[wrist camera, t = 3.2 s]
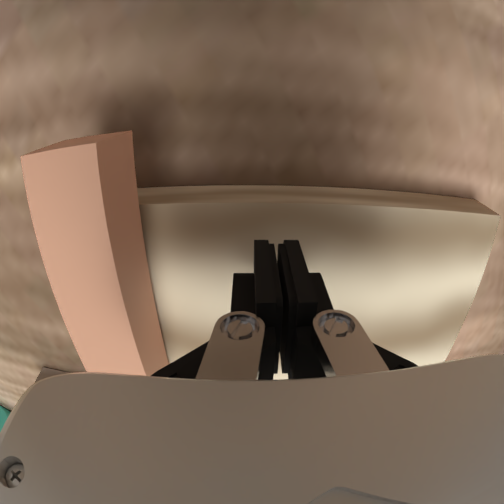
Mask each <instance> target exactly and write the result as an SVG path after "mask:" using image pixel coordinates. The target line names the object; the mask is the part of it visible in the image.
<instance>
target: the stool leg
mask: <svg viewBox="0 0 504 504" xmlns="http://www.w3.org/2000/svg"><path fill="white" fill-rule="evenodd" d="M20 157H21V164H22V171H23V177H24V183H25V188H26V194H27V199H28V204H29V208H30V213H31V217H32V222H33V226H34V230H35V234H36V238H37V241H38V245H39V249H40V252H41V256H42V259H43V262H44V266H45V269H46V272H47V275H48V278H49V281H50V284H51V287H52V290H53V293H54V296H55V299H56V301H57V304H58V307H59V309H60V312H61V314H62V317H63V320H64V322H65V325H66V327H67V329H68V332H69V334H70V336H71V339H72V341H73V343H74V346H75V348H76V350H77V352H78V354H79V357H80V359H81V361H82V363H83V365H84V367H85V369H86V371H87V372H107V373H117V374H129V375H144V376H151V375H152V374H154V373H155V372H156V371H158V370H160V369H161V368H163V367H165V366H167V365H168V364H169V363H168V359H167V355H166V351H165V347H164V342H163V338H162V334H161V329H160V325H159V320H158V315H157V311H156V306H155V301H154V296H153V291H152V285H151V280H150V274H149V269H148V263H147V257H146V251H145V244H144V238H143V231H142V224H141V216H140V209H139V200H138V192H137V182H136V172H135V162H134V149H133V135H132V131H123V132H115V133H107V134H100V135H93V136H87V137H81V138H75V139H69V140H64V141H61V142H58V143H55V144H52V145H50V146H47V147H44V148H41V149H38V150H36V151H33V152H30V153H28V154H25V155H23V156H20Z"/></svg>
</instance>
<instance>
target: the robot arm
mask: <svg viewBox="0 0 504 504" xmlns="http://www.w3.org/2000/svg"><path fill="white" fill-rule="evenodd" d="M279 353H280V359H281V369H282V374H284V373H288V379H280V380H273V376H274V374H277V373H278V364H279ZM0 504H504V354H488V355H478V356H473V357H468V358H462V359H456V360H450V361H446V362H440V363H435V364H429V365H423V366H418V365H416V364H414V363H413V362H411V361H409V360H407V359H405V358H403V357H401V356H399V355H396V354H394V353H392V352H390V351H388V350H386V349H384V348H382V347H380V346H378V345H376V344H374V343H372V341H371V340H370V338H369V337H368V335H367V334H366V332H365V331H364V329H363V327H362V326H361V324H360V323H359V321H358V320H357V319H356V318H355V317H354V316H353V315H351V314H350V313H348V312H345V311H342V310H334V309H333V306H332V303H331V300H330V297H329V295H328V292H327V289H326V286H325V284H324V281H323V278H322V275H321V273H309V271H308V268H307V265H306V262H305V259H304V255H303V252H302V249H301V246H300V243H299V240H284V241H283V244H278V255H277V259H276V253H275V246H274V244H269V241H268V240H254V273H234V274H233V285H232V298H231V311H230V313H227V314H225V315H223V316H221V317H220V318H219V319H218V320H217V322H216V323H215V326H214V329H213V331H212V334H211V337H210V340H209V341H208V342H206V343H204V344H203V345H201V346H199V347H198V348H196V349H194V350H193V351H191V352H189V353H187V354H186V355H184V356H182V357H181V358H179V359H177V360H175V361H174V362H172V363H170V364H168V365H167V366H165V367H163V368H161V369H160V370H158V371H156V372H155V373H154V374H152V375H151V376H144V375H129V374H117V373H107V372H74V373H66V374H60V375H54V376H51V377H47V378H44V379H41V380H39V381H37V382H36V383H34V384H33V385H32V386H30V387H29V388H28V389H27V390H26V391H25V393H24V394H23V395H22V396H21V398H20V399H19V400H18V402H17V403H16V405H15V407H14V408H13V410H12V411H11V413H10V415H9V416H8V418H7V420H6V422H5V424H4V426H3V428H2V430H1V432H0Z"/></svg>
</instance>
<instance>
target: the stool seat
mask: <svg viewBox="0 0 504 504" xmlns="http://www.w3.org/2000/svg"><path fill="white" fill-rule="evenodd" d="M137 192H138V200H139V209H140V216H141V224H142V231H143V238H144V244H145V251H146V257H147V263H148V269H149V274H150V280H151V285H152V291H153V296H154V301H155V306H156V311H157V315H158V320H159V325H160V329H161V334H162V338H163V342H164V347H165V351H166V355H167V359H168V363H169V364H170V363H172V362H174V361H175V360H177V359H179V358H181V357H182V356H184V355H186V354H187V353H189V352H191V351H193V350H194V349H196V348H198V347H199V346H201V345H203V344H204V343H206V342H208V341H209V340H210V337H211V334H212V331H213V329H214V326H215V323H216V322H217V320H218V319H219V318H220V317H221V316H223V315H225V314H227V313H230V311H231V298H232V285H233V274H234V273H254V240H268V241H269V244H274V246H275V253H276V259H277V255H278V244H283V241H284V240H299V243H300V246H301V249H302V252H303V255H304V259H305V262H306V265H307V268H308V271H309V273H321V275H322V278H323V281H324V284H325V286H326V289H327V292H328V295H329V297H330V300H331V303H332V306H333V309H334V310H342V311H345V312H348V313H350V314H351V315H353V316H354V317H355V318H356V319H357V320H358V321H359V323H360V324H361V326H362V327H363V329H364V331H365V332H366V334H367V335H368V337H369V338H370V340H371V341H372V343H374V344H376V345H378V346H380V347H382V348H384V349H386V350H388V351H390V352H392V353H394V354H396V355H399V356H401V357H403V358H405V359H407V360H409V361H411V362H413V363H414V364H416V365H418V366H423V365H429V364H435V363H440V362H444V361H445V359H446V357H447V355H448V354H449V352H450V350H451V348H452V346H453V344H454V342H455V340H456V338H457V335H458V333H459V331H460V329H461V327H462V325H463V323H464V320H465V318H466V316H467V313H468V311H469V309H470V306H471V304H472V302H473V299H474V297H475V294H476V292H477V289H478V286H479V284H480V281H481V278H482V276H483V273H484V270H485V267H486V264H487V261H488V258H489V255H490V252H491V249H492V245H493V242H494V239H495V235H496V232H497V228H498V224H499V221H500V217H501V216H500V215H499V214H497V213H496V212H494V211H493V210H491V209H489V208H488V207H486V206H485V205H483V204H481V203H480V202H478V201H477V200H475V199H469V198H460V197H452V196H443V195H433V194H423V193H412V192H400V191H387V190H373V189H357V188H338V187H314V186H274V185H213V186H173V187H149V188H137ZM66 373H69V372H64V371H59V370H55V369H50V368H45V367H43V368H42V370H41V372H40V374H39V376H38V377H37V379H36V381H35V383H36V382H37V381H39V380H41V379H44V378H47V377H51V376H54V375H60V374H66ZM280 379H288V373H284V374H282V369H281V359H280V353H279V364H278V373H277V374H274V376H273V380H280Z"/></svg>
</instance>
